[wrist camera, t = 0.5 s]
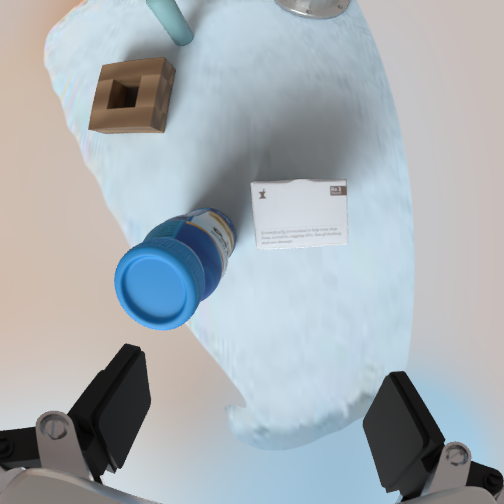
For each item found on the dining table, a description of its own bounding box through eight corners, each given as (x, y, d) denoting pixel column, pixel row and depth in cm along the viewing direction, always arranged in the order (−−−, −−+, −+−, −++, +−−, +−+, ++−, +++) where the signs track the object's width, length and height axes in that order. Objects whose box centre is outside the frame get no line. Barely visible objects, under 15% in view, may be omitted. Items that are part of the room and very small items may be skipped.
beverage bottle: (184, 200, 37) (107, 220, 17) (244, 214, 37) (221, 249, 17) (173, 257, 39) (102, 322, 19) (230, 272, 39) (199, 355, 19)
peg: (176, 31, 30) (149, -9, 18) (195, 30, 30) (173, -13, 18) (172, 46, 31) (143, 7, 19) (191, 45, 31) (166, 3, 19)
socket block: (118, 75, 32) (102, 65, 27) (175, 70, 32) (164, 57, 27) (106, 133, 34) (88, 129, 30) (163, 132, 34) (150, 126, 29)
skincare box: (255, 226, 37) (250, 255, 23) (252, 182, 36) (245, 181, 21) (317, 223, 37) (349, 249, 22) (315, 179, 35) (348, 177, 21)
